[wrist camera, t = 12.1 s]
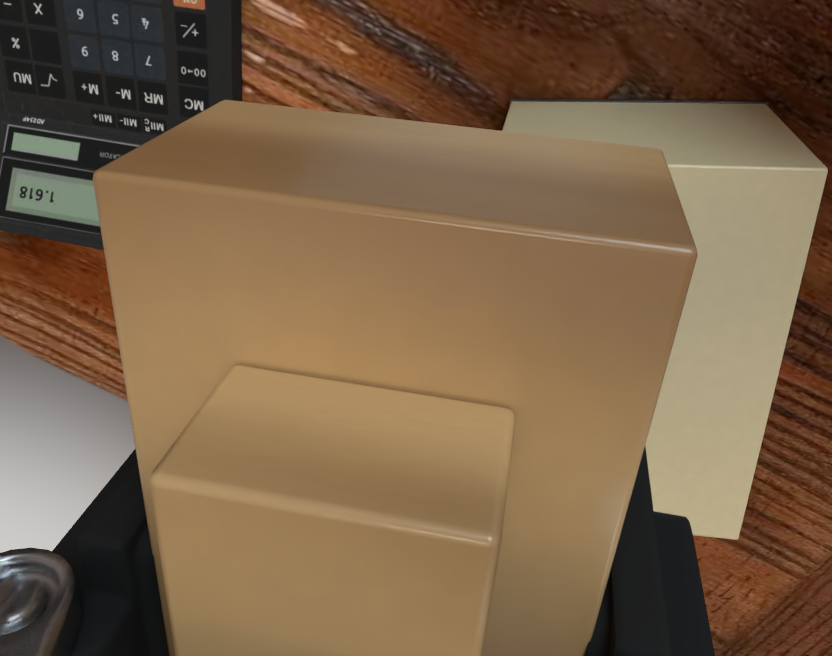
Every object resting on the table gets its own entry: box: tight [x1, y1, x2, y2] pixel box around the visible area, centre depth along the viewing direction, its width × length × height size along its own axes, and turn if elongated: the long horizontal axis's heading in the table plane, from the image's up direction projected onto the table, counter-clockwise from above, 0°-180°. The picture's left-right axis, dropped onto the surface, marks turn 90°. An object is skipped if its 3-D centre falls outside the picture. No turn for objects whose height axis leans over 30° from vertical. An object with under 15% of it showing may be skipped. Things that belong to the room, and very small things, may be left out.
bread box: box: [502, 98, 828, 540], centre depth 24 cm, size 9×12×7 cm
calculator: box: [0, 0, 242, 250], centre depth 26 cm, size 9×12×3 cm
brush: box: [93, 100, 698, 656], centre depth 9 cm, size 11×4×6 cm, turn 176°
